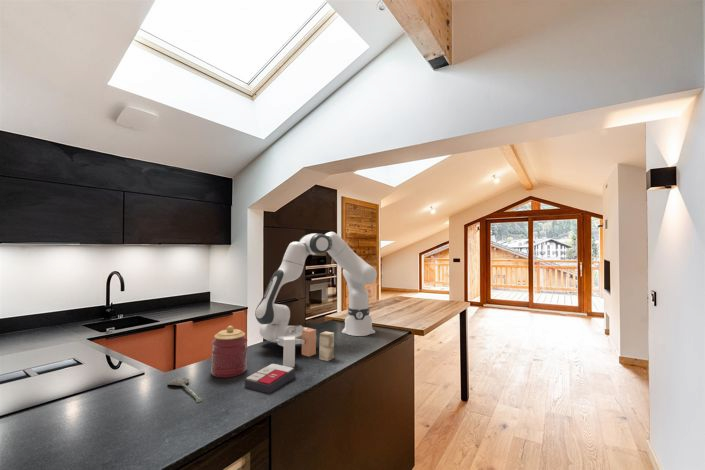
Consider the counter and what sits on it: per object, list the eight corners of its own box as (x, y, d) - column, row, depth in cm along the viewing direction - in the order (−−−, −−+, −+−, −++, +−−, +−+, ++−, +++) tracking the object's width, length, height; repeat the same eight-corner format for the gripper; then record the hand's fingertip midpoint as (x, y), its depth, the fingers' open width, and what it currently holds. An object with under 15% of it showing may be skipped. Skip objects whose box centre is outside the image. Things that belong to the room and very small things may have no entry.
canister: (235, 380, 120) (236, 331, 121) (203, 376, 123) (204, 328, 124) (252, 367, 133) (253, 322, 134) (223, 364, 136) (224, 321, 136)
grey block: (283, 363, 137) (283, 336, 138) (294, 362, 138) (294, 336, 139) (283, 367, 133) (283, 340, 133) (294, 366, 134) (295, 339, 134)
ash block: (325, 356, 147) (325, 331, 148) (333, 358, 145) (334, 332, 145) (319, 359, 144) (319, 333, 144) (327, 361, 141) (327, 335, 141)
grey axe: (185, 381, 121) (165, 387, 116) (184, 372, 121) (164, 378, 117) (209, 399, 106) (187, 407, 101) (208, 389, 106) (187, 396, 101)
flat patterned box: (243, 377, 115) (271, 361, 128) (244, 389, 115) (272, 372, 128) (269, 383, 110) (295, 366, 123) (269, 396, 110) (295, 377, 124)
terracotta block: (308, 352, 153) (308, 328, 153) (315, 353, 150) (316, 329, 151) (301, 354, 149) (301, 330, 149) (309, 356, 146) (309, 331, 147)
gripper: (271, 333, 148) (294, 338, 141) (301, 324, 165) (324, 328, 158) (271, 347, 148) (294, 353, 140) (301, 337, 165) (323, 341, 158)
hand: (310, 340), depth 149 cm, fingers open, 6 cm apart
